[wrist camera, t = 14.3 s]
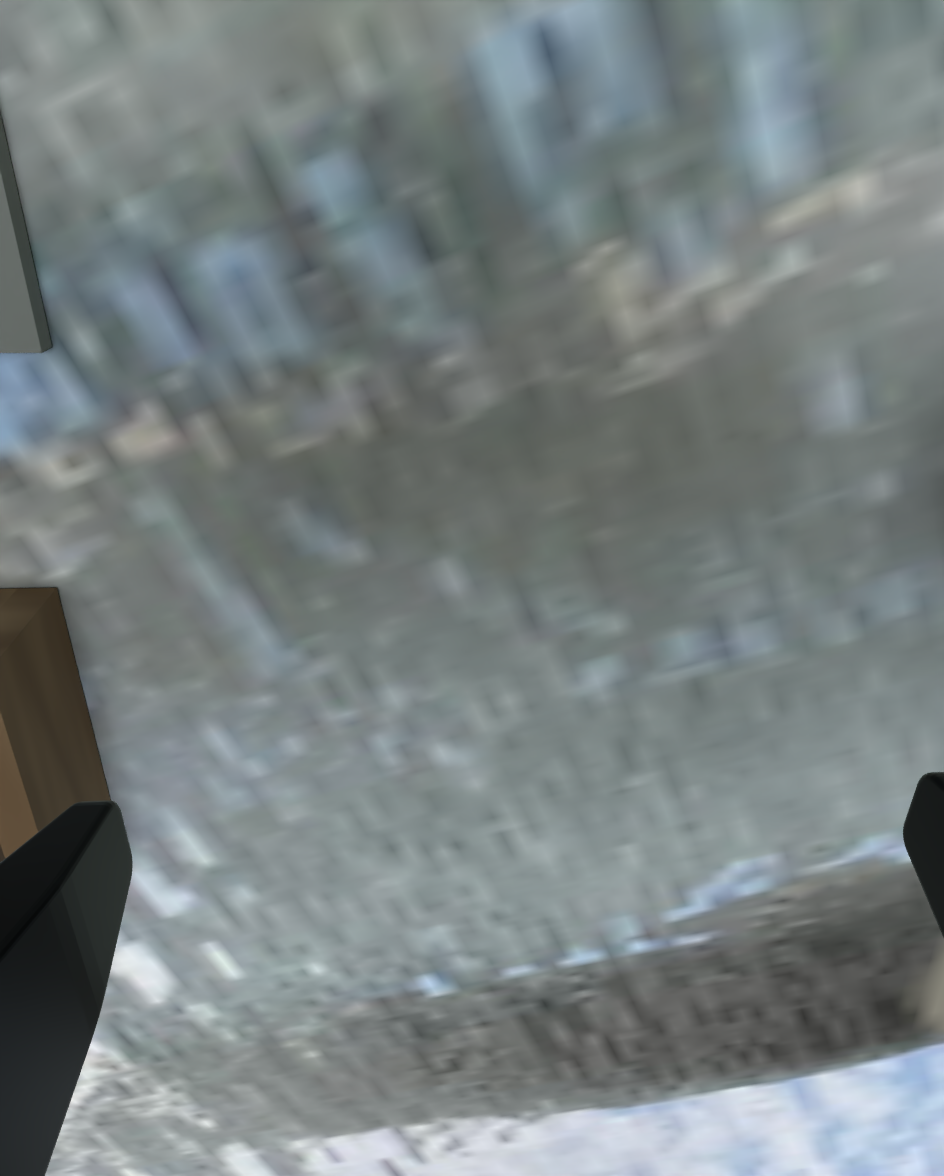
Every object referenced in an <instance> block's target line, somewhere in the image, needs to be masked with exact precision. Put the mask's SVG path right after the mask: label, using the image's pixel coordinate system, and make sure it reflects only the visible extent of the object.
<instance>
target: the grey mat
mask: <svg viewBox="0 0 944 1176" xmlns="http://www.w3.org/2000/svg"><path fill="white" fill-rule="evenodd" d="M51 347H52V344H51V339H50V335H49V330H48V326H47V321H46V317H45V312H44V308H43V303H42V299H41V294H40V290H39V285H38V281H37V276H36V272H35V267H34V263H33V258H32V254H31V249H30V245H29V240H28V236H27V231H26V227H25V222H24V218H23V213H22V209H21V204H20V200H19V195H18V191H17V186H16V182H15V177H14V173H13V168H12V164H11V159H10V154H9V150H8V145H7V141H6V136H5V132H4V127H3V123H2V118H1V114H0V353H42V352H44V351H46V350H48V349H50V348H51Z"/></svg>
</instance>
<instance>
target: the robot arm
mask: <svg viewBox="0 0 944 1176" xmlns="http://www.w3.org/2000/svg"><path fill="white" fill-rule="evenodd" d="M903 838H904V843H905V847H906V850H907V852H908V855H909V857H910V859H911V862H912V864H913V866H914V869H915V871H916V873H917V876H918V878H919V881H920V883H921V885H922V888H923V890H924V892H925V895H926V897H927V899H928V902H929V904H930V907H931V909H932V911H933V914H934V916H935V918H936V921H937V923H938V925H939V928H940V930H941V933H942V935H943V937H944V772H931V773H927V774H925V775H923V776H922V777H921V779H920V780H919V782H918V784H917V787H916V790H915V793H914V796H913V799H912V802H911V805H910V808H909V811H908V814H907V817H906V820H905V823H904V827H903ZM131 876H132V854H131V850H130V846H129V842H128V838H127V834H126V830H125V826H124V822H123V818H122V814H121V810H120V808H119V806H118V805H117V803H115V802H113V801H110V800H106V801H82V802H77V803H75V804H73V805H72V806H70V807H69V808H68V809H66V810H65V811H64V812H63V813H61V814H60V815H59V816H58V817H56V818H55V819H54V820H53V821H51V822H50V823H49V824H48V825H46V826H45V827H44V828H43V829H41V830H40V831H39V832H38V833H36V834H35V835H34V836H33V837H31V838H30V839H29V840H28V841H26V842H25V843H24V844H23V845H21V846H20V847H19V848H18V849H16V850H15V851H14V852H13V853H12V854H10V855H9V856H8V857H7V858H5V859H4V860H3V861H2V862H0V1176H45V1174H46V1171H47V1168H48V1165H49V1162H50V1159H51V1156H52V1153H53V1150H54V1147H55V1145H56V1142H57V1139H58V1136H59V1133H60V1130H61V1127H62V1124H63V1121H64V1118H65V1116H66V1113H67V1110H68V1107H69V1104H70V1101H71V1098H72V1095H73V1092H74V1090H75V1087H76V1084H77V1081H78V1078H79V1075H80V1072H81V1069H82V1066H83V1063H84V1061H85V1058H86V1055H87V1052H88V1049H89V1046H90V1043H91V1040H92V1037H93V1034H94V1031H95V1028H96V1025H97V1021H98V1018H99V1015H100V1011H101V1007H102V1004H103V1000H104V996H105V992H106V987H107V983H108V978H109V974H110V970H111V965H112V961H113V956H114V952H115V948H116V943H117V939H118V934H119V930H120V925H121V921H122V917H123V912H124V908H125V903H126V899H127V895H128V890H129V886H130V881H131Z"/></svg>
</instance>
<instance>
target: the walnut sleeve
mask: <svg viewBox="0 0 944 1176" xmlns="http://www.w3.org/2000/svg"><path fill="white" fill-rule="evenodd" d="M106 800H110V796H109V792H108V788H107V784H106V780H105V776H104V773H103V769H102V765H101V761H100V757H99V753H98V749H97V745H96V741H95V737H94V733H93V729H92V725H91V721H90V717H89V713H88V709H87V705H86V701H85V697H84V693H83V689H82V685H81V682H80V678H79V674H78V670H77V666H76V662H75V658H74V654H73V650H72V646H71V642H70V638H69V634H68V630H67V626H66V622H65V618H64V614H63V610H62V606H61V602H60V598H59V594H58V590H57V588H11V589H0V862H2V861H3V860H4V859H5V858H7V857H8V856H9V855H10V854H12V853H13V852H14V851H15V850H16V849H18V848H19V847H20V846H21V845H23V844H24V843H25V842H26V841H28V840H29V839H30V838H31V837H33V836H34V835H35V834H36V833H38V832H39V831H40V830H41V829H43V828H44V827H45V826H46V825H48V824H49V823H50V822H51V821H53V820H54V819H55V818H56V817H58V816H59V815H60V814H61V813H63V812H64V811H65V810H66V809H68V808H69V807H70V806H72V805H73V804H75V803H77V802H82V801H106ZM110 801H111V800H110Z"/></svg>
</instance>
